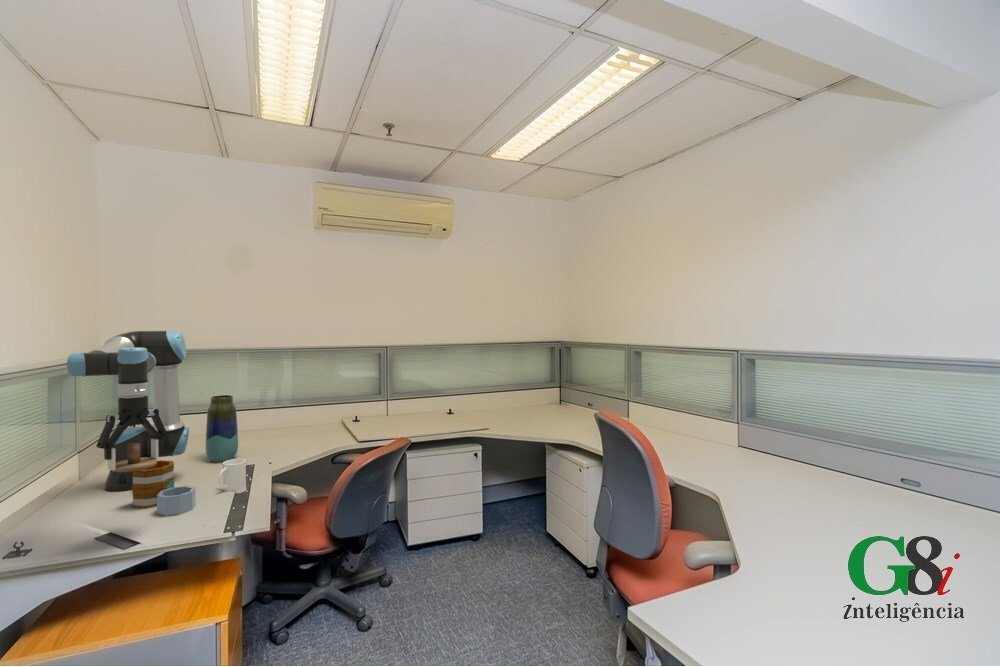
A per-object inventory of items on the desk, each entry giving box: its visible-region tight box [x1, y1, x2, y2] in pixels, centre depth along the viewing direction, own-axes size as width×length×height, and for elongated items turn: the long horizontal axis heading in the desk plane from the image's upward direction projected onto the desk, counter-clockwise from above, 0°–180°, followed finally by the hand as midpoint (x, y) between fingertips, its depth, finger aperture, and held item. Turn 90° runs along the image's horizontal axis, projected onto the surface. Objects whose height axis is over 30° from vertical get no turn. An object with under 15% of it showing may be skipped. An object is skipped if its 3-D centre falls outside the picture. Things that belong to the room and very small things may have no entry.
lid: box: [111, 443, 158, 472], centre depth 150 cm, size 12×12×7 cm
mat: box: [94, 531, 141, 551], centre depth 151 cm, size 16×14×1 cm
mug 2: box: [217, 458, 247, 494], centre depth 188 cm, size 12×8×12 cm
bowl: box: [156, 485, 197, 517], centre depth 167 cm, size 10×10×8 cm
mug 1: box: [131, 459, 175, 509], centre depth 177 cm, size 20×14×15 cm
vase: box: [205, 394, 239, 463], centre depth 231 cm, size 14×14×31 cm
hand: (134, 464), depth 150 cm, fingers closed on lid, 11 cm apart
